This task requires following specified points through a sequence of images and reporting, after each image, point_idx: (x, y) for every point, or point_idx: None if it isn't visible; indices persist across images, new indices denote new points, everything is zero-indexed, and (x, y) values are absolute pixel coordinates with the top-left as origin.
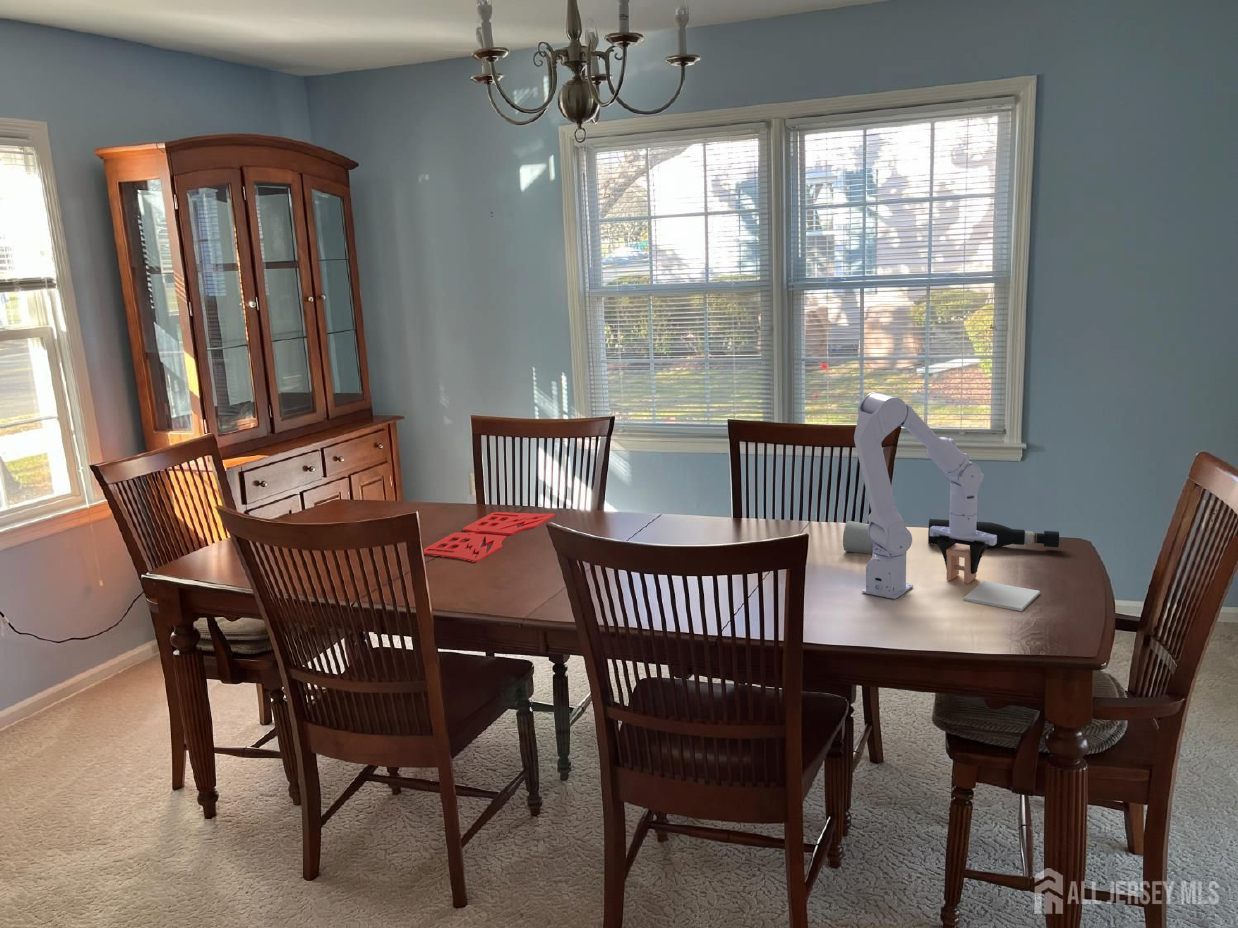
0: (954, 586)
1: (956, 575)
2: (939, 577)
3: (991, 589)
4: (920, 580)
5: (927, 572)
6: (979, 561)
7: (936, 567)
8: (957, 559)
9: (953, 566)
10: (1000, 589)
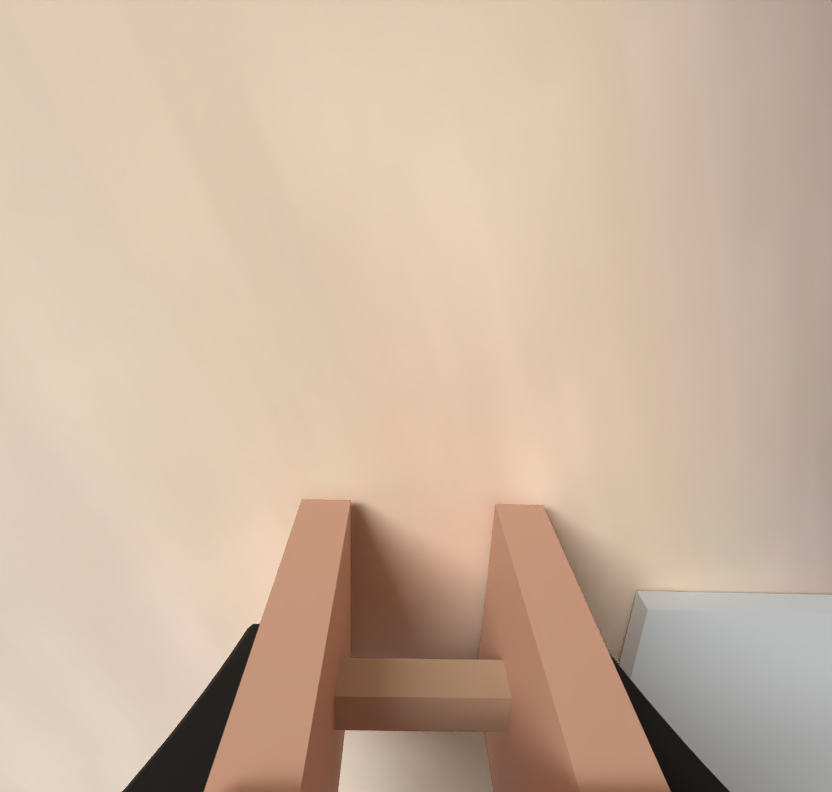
0: (423, 740)
1: (349, 559)
2: (218, 623)
3: (738, 747)
4: (123, 742)
5: (45, 556)
6: (678, 746)
7: (19, 368)
8: (325, 707)
9: (336, 752)
10: (812, 720)
